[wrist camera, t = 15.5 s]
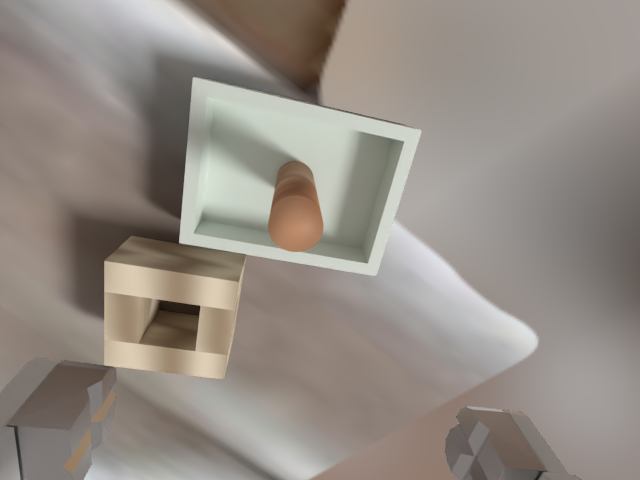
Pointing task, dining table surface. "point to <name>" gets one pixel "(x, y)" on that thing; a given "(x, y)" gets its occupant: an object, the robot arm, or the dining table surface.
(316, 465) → the dining table surface
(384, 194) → the tray
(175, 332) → the square wooden frame
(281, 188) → the dowel
